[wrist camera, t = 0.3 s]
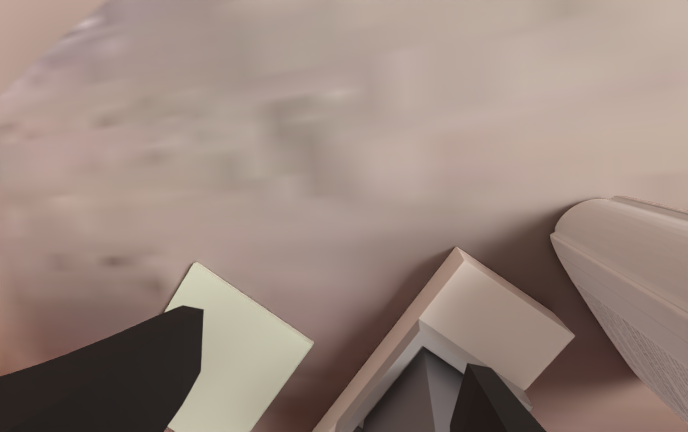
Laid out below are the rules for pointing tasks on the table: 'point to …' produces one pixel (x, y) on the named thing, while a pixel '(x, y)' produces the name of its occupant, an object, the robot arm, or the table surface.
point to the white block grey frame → (457, 338)
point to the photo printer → (634, 284)
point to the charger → (418, 398)
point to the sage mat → (234, 356)
